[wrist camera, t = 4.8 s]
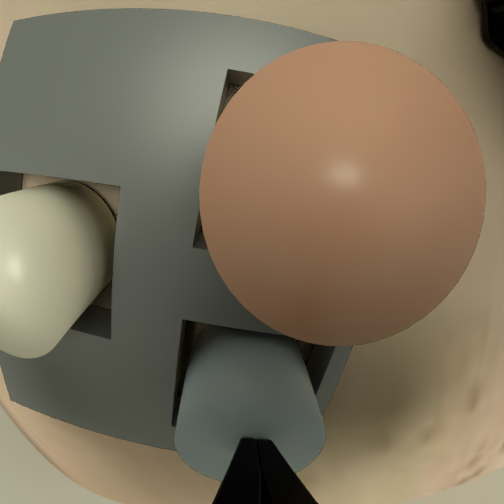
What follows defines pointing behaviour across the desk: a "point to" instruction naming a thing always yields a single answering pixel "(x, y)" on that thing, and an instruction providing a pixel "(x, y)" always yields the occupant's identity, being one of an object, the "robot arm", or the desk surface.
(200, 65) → the panel
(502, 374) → the desk surface
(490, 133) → the desk surface
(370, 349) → the desk surface
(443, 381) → the desk surface
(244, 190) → the button terracotta
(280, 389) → the button slate
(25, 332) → the button cream
